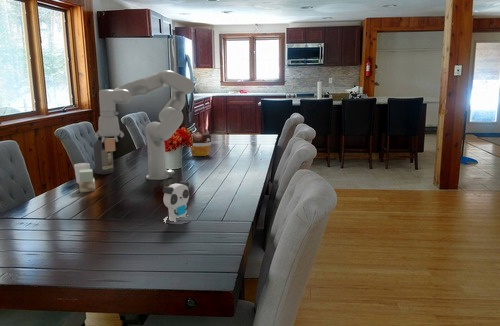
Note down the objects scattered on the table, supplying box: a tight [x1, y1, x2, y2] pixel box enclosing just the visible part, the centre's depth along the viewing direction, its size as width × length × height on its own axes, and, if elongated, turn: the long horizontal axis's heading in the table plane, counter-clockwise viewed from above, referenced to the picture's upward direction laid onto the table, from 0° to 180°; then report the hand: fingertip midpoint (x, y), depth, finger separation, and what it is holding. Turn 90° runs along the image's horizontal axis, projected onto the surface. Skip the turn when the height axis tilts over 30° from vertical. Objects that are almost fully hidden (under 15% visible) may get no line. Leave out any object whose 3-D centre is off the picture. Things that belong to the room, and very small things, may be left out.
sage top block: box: [79, 168, 94, 182], centre depth 211 cm, size 6×6×5 cm
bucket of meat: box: [189, 126, 212, 157], centre depth 304 cm, size 20×16×20 cm
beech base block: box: [78, 177, 96, 193], centre depth 212 cm, size 7×7×5 cm
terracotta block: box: [104, 137, 116, 152], centre depth 217 cm, size 5×5×6 cm
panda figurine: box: [162, 180, 190, 224], centre depth 167 cm, size 12×11×15 cm
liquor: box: [93, 121, 114, 175], centre depth 247 cm, size 9×9×30 cm
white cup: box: [73, 162, 91, 185], centre depth 226 cm, size 8×8×10 cm
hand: (110, 149), depth 218 cm, fingers closed on terracotta block, 5 cm apart
